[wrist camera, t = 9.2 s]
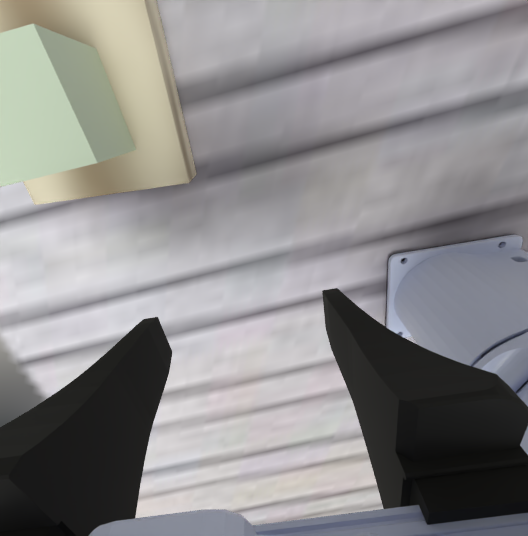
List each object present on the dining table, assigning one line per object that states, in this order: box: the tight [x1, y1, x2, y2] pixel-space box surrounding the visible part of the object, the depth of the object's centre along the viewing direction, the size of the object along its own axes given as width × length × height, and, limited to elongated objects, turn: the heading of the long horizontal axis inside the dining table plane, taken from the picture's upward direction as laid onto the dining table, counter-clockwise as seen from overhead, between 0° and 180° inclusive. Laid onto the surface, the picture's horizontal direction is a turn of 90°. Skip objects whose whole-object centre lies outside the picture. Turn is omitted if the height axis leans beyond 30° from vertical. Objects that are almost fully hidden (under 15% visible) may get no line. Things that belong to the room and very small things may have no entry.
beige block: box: [0, 0, 197, 205], centre depth 16 cm, size 9×9×3 cm
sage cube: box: [0, 24, 136, 187], centre depth 13 cm, size 4×4×4 cm
